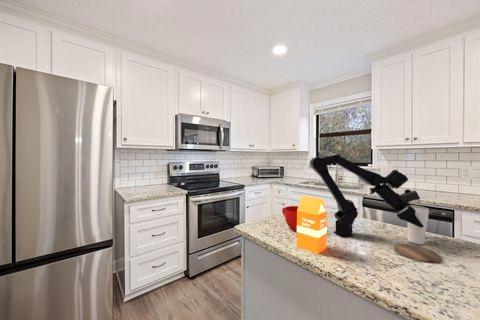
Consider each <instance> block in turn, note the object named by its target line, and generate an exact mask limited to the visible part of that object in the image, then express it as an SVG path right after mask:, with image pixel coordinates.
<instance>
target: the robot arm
mask: <svg viewBox="0 0 480 320" xmlns="http://www.w3.org/2000/svg"><path fill="white" fill-rule="evenodd" d="M334 164H336V165H337V166H339V167H341V168H343V169H344V170H346V171H348V172H349V173H352V174H354V175H355V176H356V177H358V178H359V180H361V181H362V182H363V183H364V184H366V185H369V186H371V187H370V188H369V194H370V195H373V194H374V193H376V194H377V195H378V197H379V198H380V199H382V200H383V201H384V202H385V204H387V205H388V206H389V207H390V208H392V209H393V211H394V212H396V216H397V217H398V219H400V220H401V221H402V220H403V221H405V222H406V223H407V222H410V223H412V224H414V225H416V226H418V227H421V228H422V227H424V226H423V225H422V223H421V222H420V221H419V220H418V218H417V217H416V216H415V212H416V210H415V209H414V208H413V207H412V206H410V205H411V204H410V202H413V201H419V200H421V197H420V195H419V193H418V192H417V191H416V190H410V188H409V189H404V192H403V193H401V194H399V192H396V191H395V190H393V189H396V190H398V189H399V188H401V186H403V185H404V184H406V182H408V181H409V178H408V177H407V176H406V175H405V174H403V173H402V172H399V171H398V170H397V169H393V170H392V171H390V173H389V174H387V175H386V176H382V175H381V174H380V173H377V172H373V171H372V170H368V169H365V168H362V167H361V166H359V165H357V164H355V163H353V162H352V161H350V160H348V159H346V158H344V157H343V156H341V155H340V154H338V153H337V154H336V153H335V154H332V155H327V156H324V157H320V156H316V157H315V156H314V157H312V158H311V159H310V160H309V166H310V168H311V169H312V170H313V171H314V172H315V173H316V174H317V175H318V176H319V177H320V178H321V180H322V182H323V183H324V185H325V186H326V188H327V189H328V191H329V192H330V194H331V195H332V197H333V199H334V200H335V202H336V205H337V207H336V208H337V209H338V210H337V211H336V212H335V213H334V215H333V216H334V217H335V219H336V220H335V230H334V231H332V233H334V234H335V235H337V236H339V237H340V238H349V237H350V238H351V237H355V235H354V234H353V224H354V222H355V220H356V219H357V218H358V215H359V212H358V210H359V208H357V207H356V205H355V203H354V202H353V201H352V200H350V199H348V198H347V199H346V197H345V196H344V194H343V193H342V191H341V189H340V187H338V185H337V183H336V182H335V180H334V179H333V177H332V176H331V174H330V172H329V168H328V166H331V165H334Z"/></svg>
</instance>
